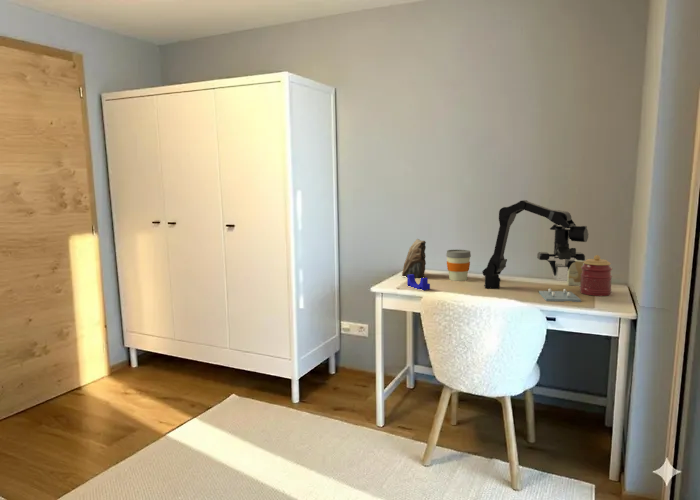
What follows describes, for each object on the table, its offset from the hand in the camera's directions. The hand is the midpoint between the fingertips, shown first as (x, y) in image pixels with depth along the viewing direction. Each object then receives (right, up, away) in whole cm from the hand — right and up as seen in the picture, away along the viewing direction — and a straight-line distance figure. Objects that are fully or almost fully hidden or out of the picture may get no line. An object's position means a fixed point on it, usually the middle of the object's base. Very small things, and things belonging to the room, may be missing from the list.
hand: (559, 275), depth 225 cm
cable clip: (-59, -8, +24) cm, 64 cm away
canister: (+19, -9, +8) cm, 23 cm away
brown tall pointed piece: (-58, -3, +53) cm, 79 cm away
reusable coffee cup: (-36, -4, +44) cm, 57 cm away
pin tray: (0, -10, +1) cm, 10 cm away
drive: (0, -2, 0) cm, 2 cm away
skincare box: (+18, -6, +27) cm, 34 cm away
